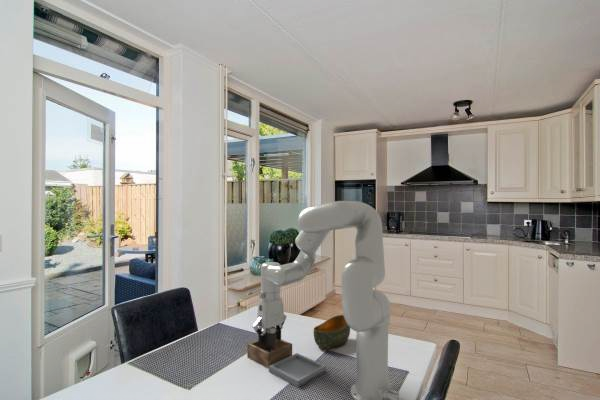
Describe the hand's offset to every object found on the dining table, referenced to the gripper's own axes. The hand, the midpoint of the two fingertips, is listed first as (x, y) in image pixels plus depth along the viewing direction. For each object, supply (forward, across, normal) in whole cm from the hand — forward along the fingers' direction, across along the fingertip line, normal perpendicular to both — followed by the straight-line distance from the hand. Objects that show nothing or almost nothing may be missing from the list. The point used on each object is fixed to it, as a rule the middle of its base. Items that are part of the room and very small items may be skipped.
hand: (269, 341), depth 124 cm
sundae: (+6, 0, 0) cm, 6 cm away
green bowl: (+6, +27, -10) cm, 29 cm away
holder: (+6, 0, 0) cm, 6 cm away
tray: (+6, 0, -15) cm, 16 cm away
